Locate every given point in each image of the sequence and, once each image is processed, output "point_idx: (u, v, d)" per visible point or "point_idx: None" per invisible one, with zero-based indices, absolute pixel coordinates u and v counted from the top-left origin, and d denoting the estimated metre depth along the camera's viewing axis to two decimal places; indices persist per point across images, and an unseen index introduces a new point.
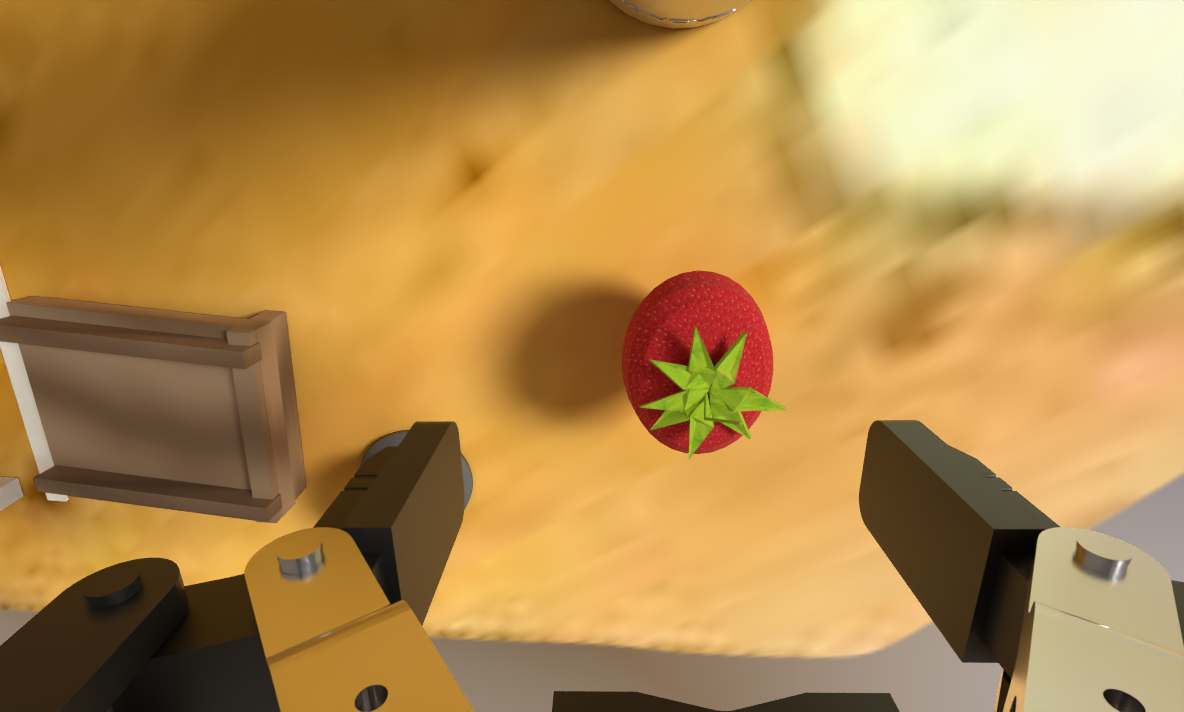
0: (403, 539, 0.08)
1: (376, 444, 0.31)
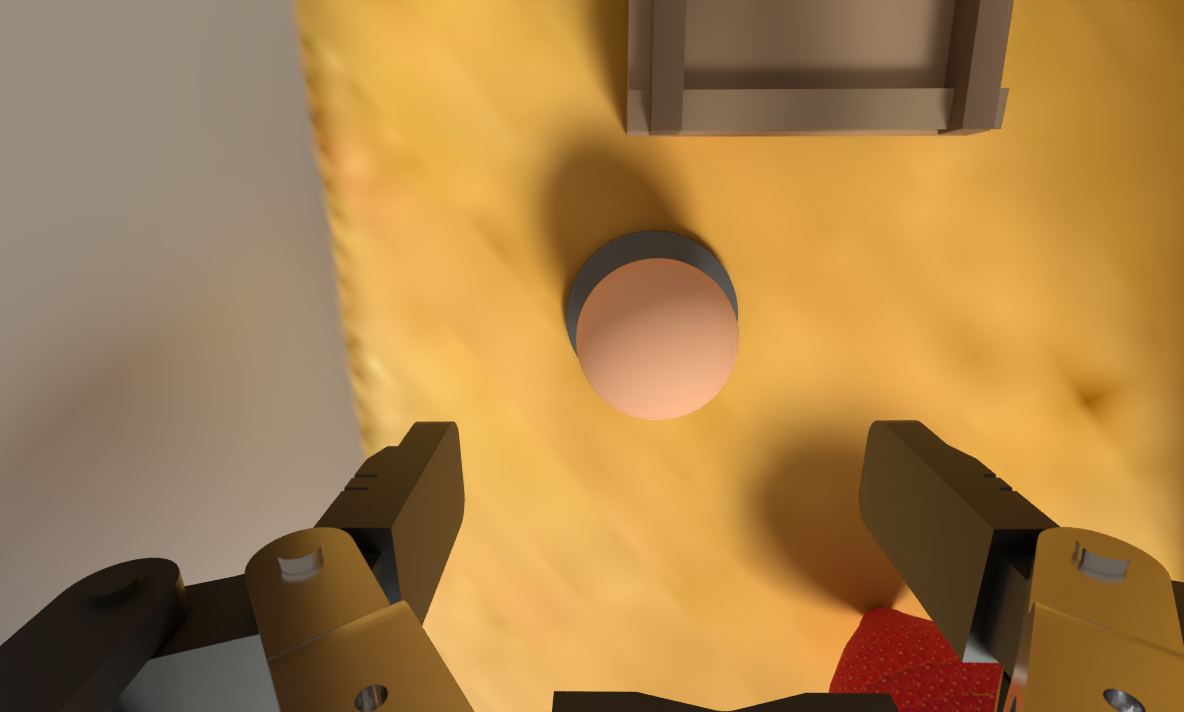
0: (403, 539, 0.08)
1: (718, 263, 0.20)
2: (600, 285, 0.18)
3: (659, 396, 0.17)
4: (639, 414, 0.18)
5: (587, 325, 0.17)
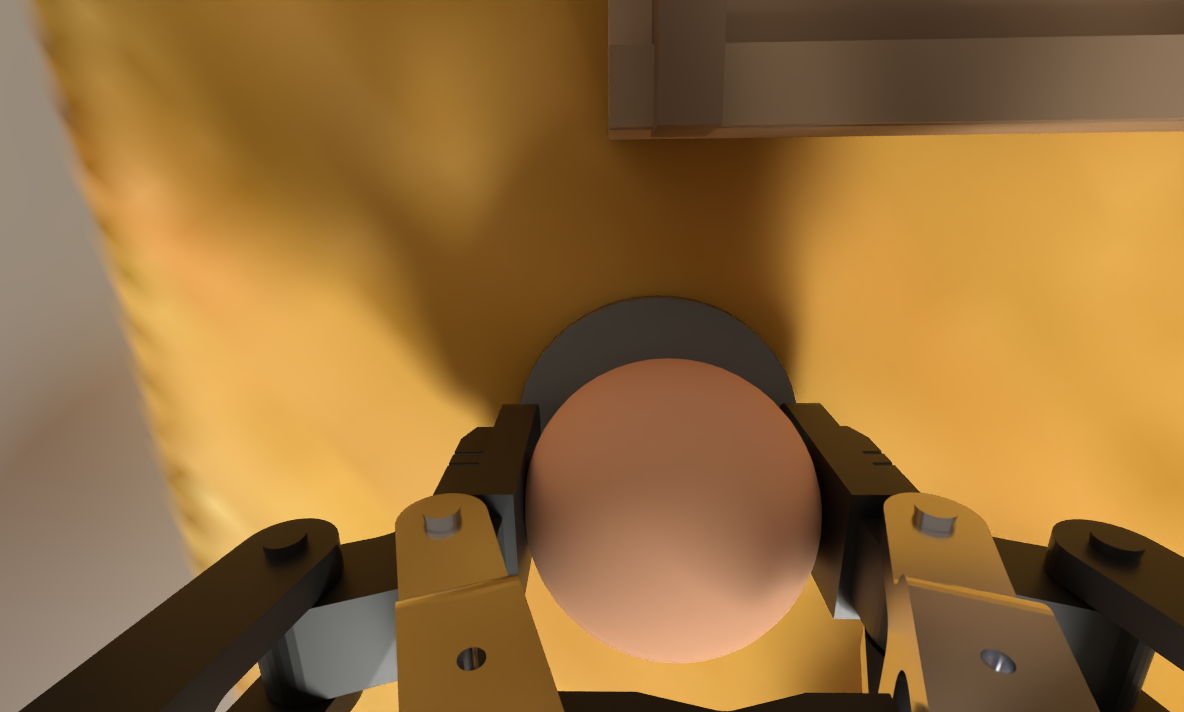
0: (518, 507, 0.09)
1: (767, 349, 0.12)
2: (564, 417, 0.09)
3: (682, 648, 0.08)
4: (641, 657, 0.09)
5: (540, 499, 0.09)
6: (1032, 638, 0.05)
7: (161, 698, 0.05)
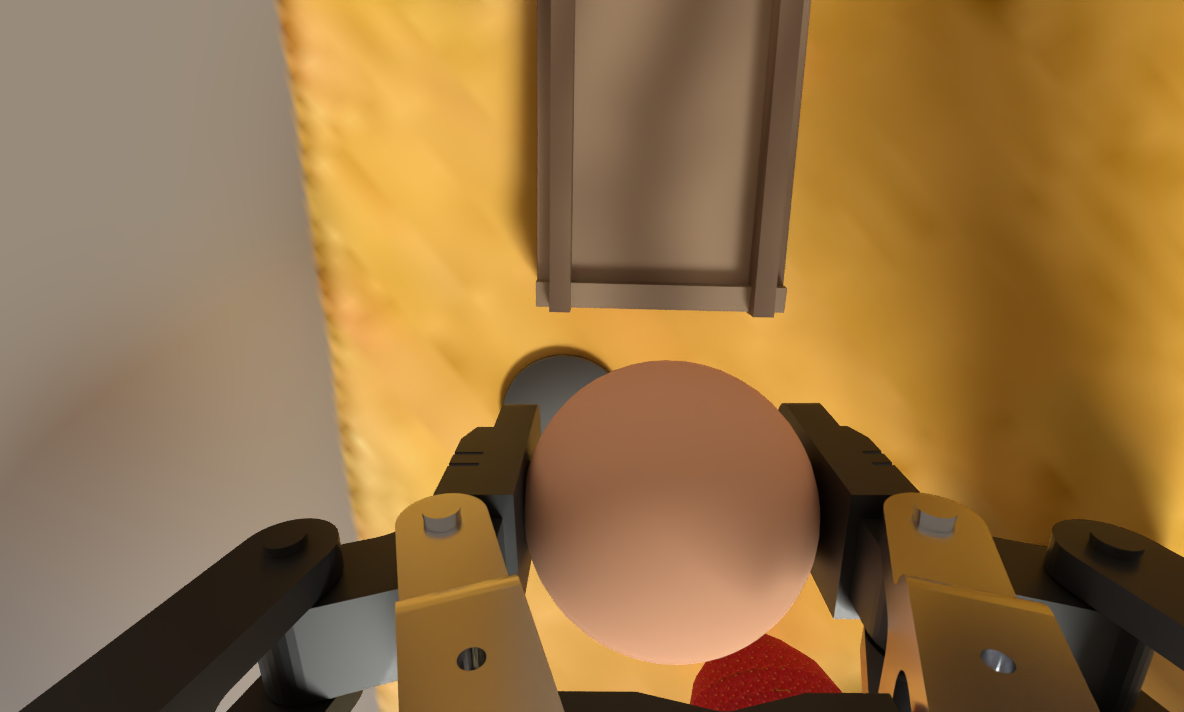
0: (518, 507, 0.09)
1: None
2: (563, 419, 0.10)
3: (680, 650, 0.08)
4: (640, 659, 0.09)
5: (539, 501, 0.09)
6: (1032, 638, 0.05)
7: (161, 698, 0.05)
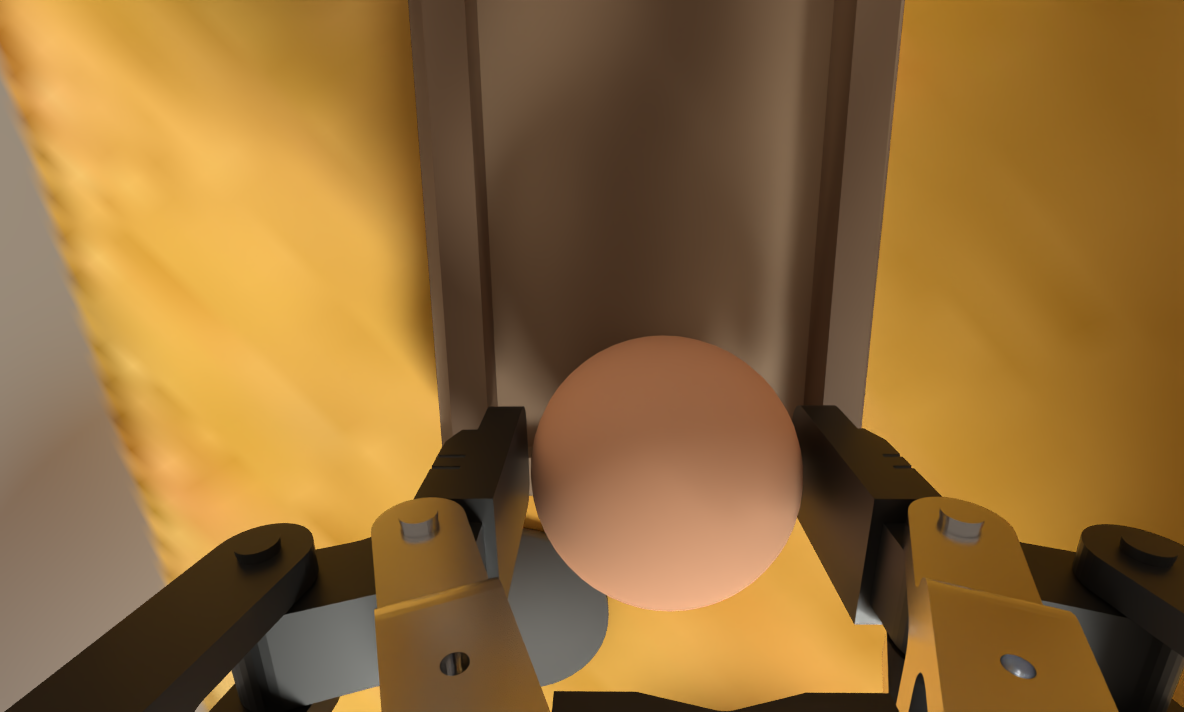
0: (499, 511, 0.09)
1: None
2: (568, 385, 0.10)
3: (675, 589, 0.09)
4: (638, 606, 0.10)
5: (546, 456, 0.10)
6: (1055, 645, 0.05)
7: (134, 707, 0.05)
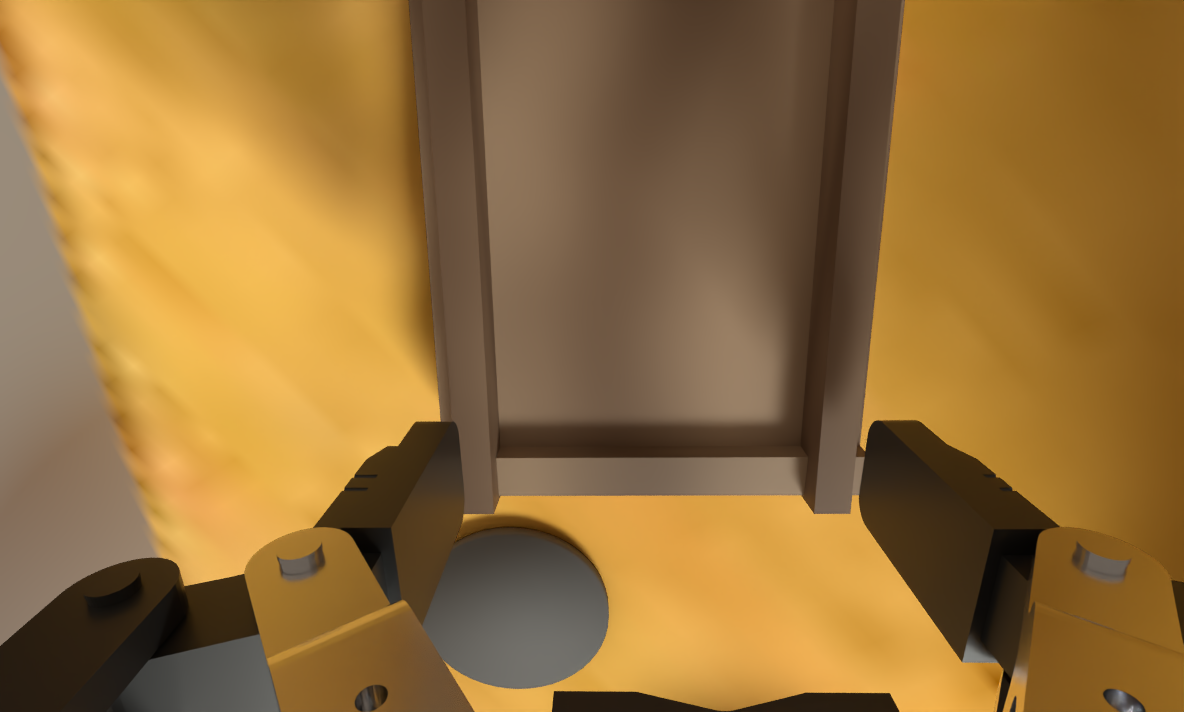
0: (403, 539, 0.08)
1: (582, 564, 0.18)
2: None
3: None
4: None
5: None
6: (1178, 691, 0.05)
7: None
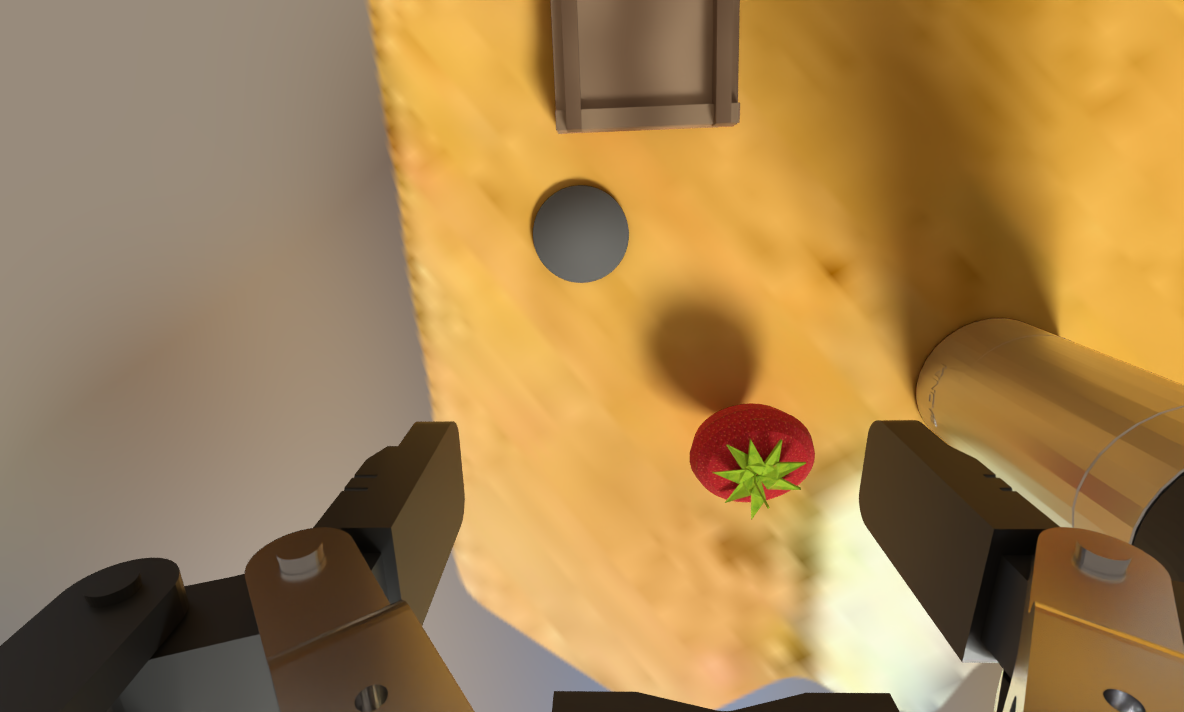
0: (403, 539, 0.08)
1: (615, 201, 0.36)
2: None
3: None
4: None
5: None
6: (1177, 691, 0.05)
7: None
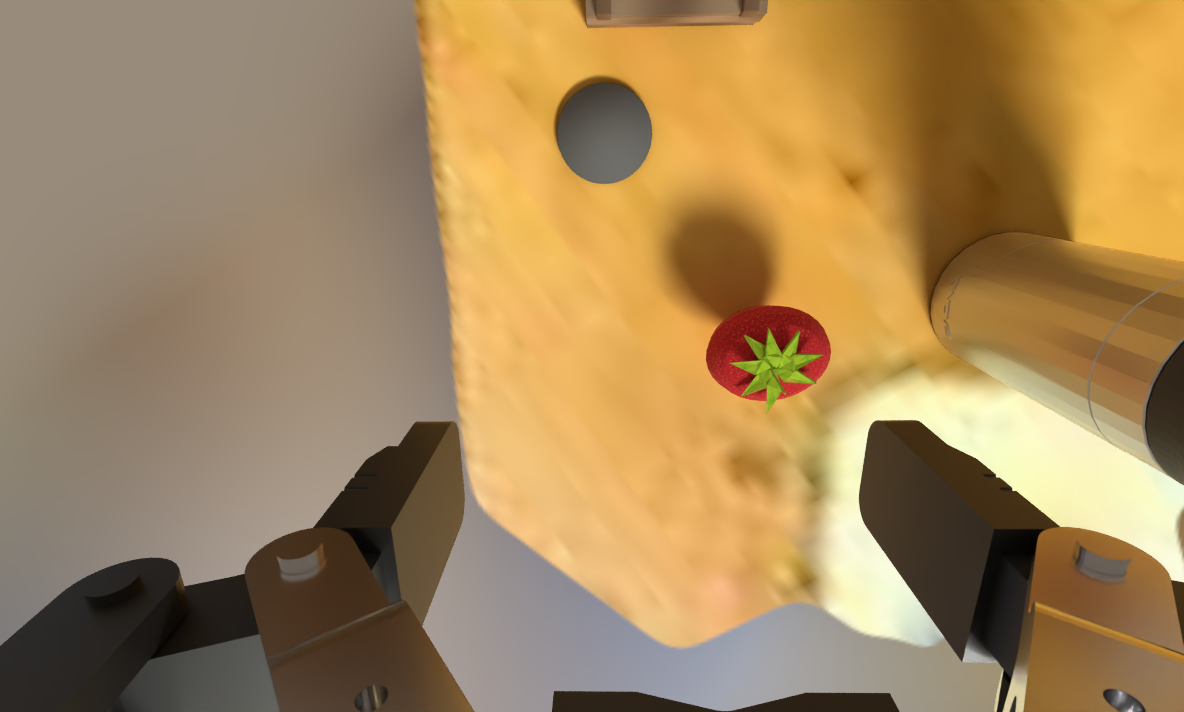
0: (403, 539, 0.08)
1: (639, 100, 0.37)
2: None
3: None
4: None
5: None
6: (1178, 691, 0.05)
7: None
